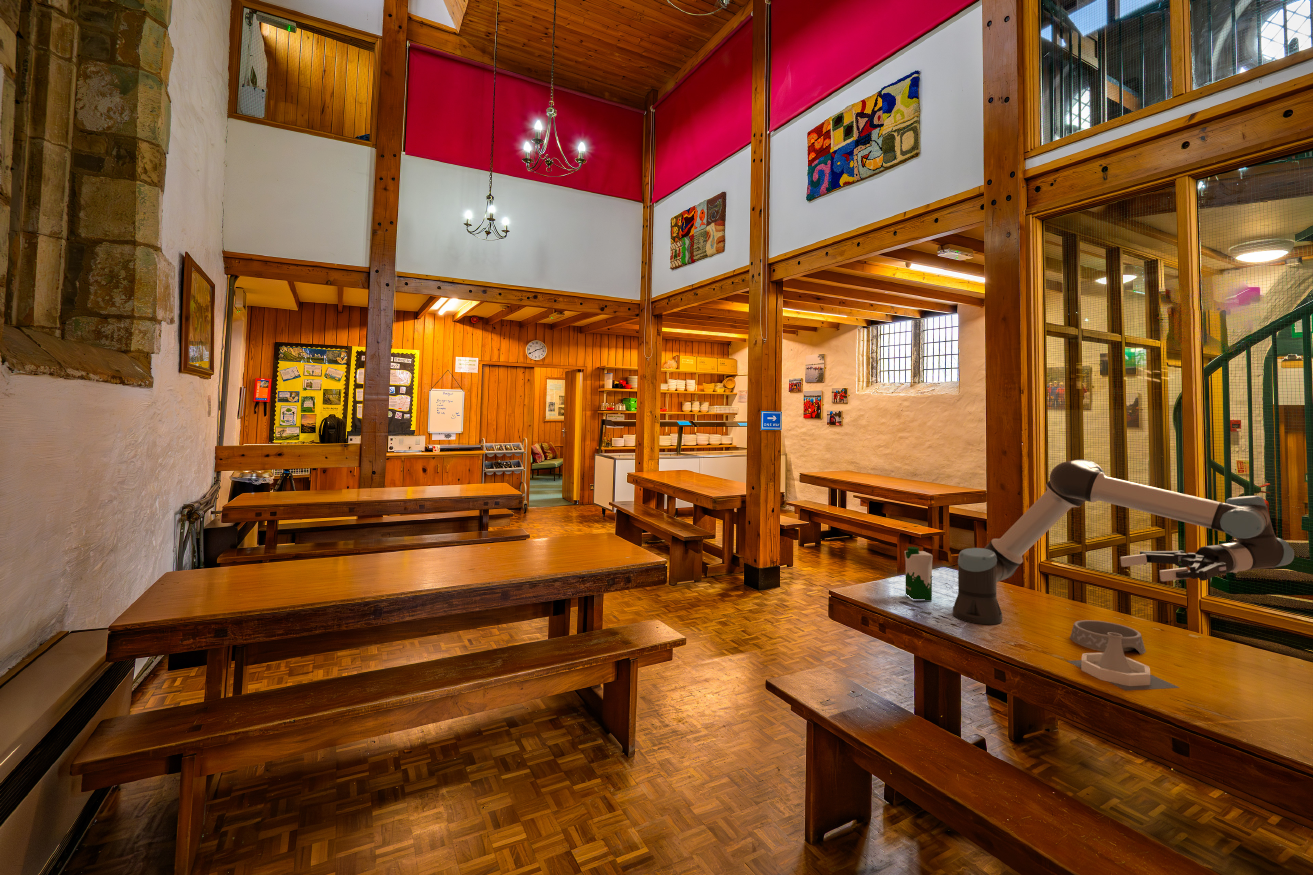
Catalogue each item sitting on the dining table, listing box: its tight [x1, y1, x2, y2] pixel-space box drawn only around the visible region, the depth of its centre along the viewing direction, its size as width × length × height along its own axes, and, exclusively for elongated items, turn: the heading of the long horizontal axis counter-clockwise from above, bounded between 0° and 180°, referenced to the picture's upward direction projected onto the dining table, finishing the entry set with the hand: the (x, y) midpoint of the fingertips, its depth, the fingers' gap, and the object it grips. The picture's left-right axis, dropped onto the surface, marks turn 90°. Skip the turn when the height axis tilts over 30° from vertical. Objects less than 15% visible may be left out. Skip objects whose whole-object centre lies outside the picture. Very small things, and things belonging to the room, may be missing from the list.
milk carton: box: [904, 546, 934, 601], centre depth 217 cm, size 9×9×20 cm
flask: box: [1098, 632, 1132, 673], centre depth 149 cm, size 7×7×10 cm
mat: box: [1066, 659, 1180, 692], centre depth 149 cm, size 18×15×1 cm
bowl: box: [1080, 652, 1151, 686], centre depth 149 cm, size 14×14×3 cm
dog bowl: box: [1069, 619, 1147, 655], centre depth 170 cm, size 17×18×5 cm
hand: (1140, 568), depth 154 cm, fingers open, 13 cm apart
